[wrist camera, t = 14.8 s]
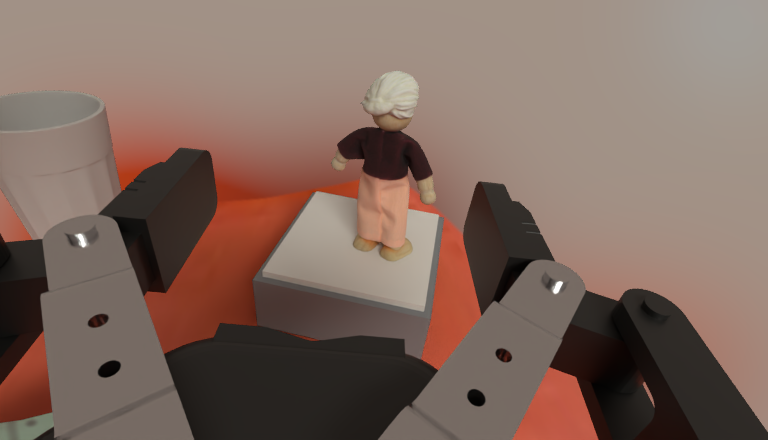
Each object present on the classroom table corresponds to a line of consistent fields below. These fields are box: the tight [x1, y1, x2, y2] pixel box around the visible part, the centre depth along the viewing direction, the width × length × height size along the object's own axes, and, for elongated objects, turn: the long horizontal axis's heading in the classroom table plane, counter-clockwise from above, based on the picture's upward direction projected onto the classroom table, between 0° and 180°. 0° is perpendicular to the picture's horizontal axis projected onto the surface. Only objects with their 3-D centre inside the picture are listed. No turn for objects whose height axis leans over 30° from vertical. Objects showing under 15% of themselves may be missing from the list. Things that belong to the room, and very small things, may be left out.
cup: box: [0, 91, 121, 240], centre depth 31 cm, size 8×8×12 cm
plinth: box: [252, 191, 444, 359], centre depth 32 cm, size 12×12×5 cm
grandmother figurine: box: [331, 71, 436, 261], centre depth 27 cm, size 8×4×13 cm, turn 74°
